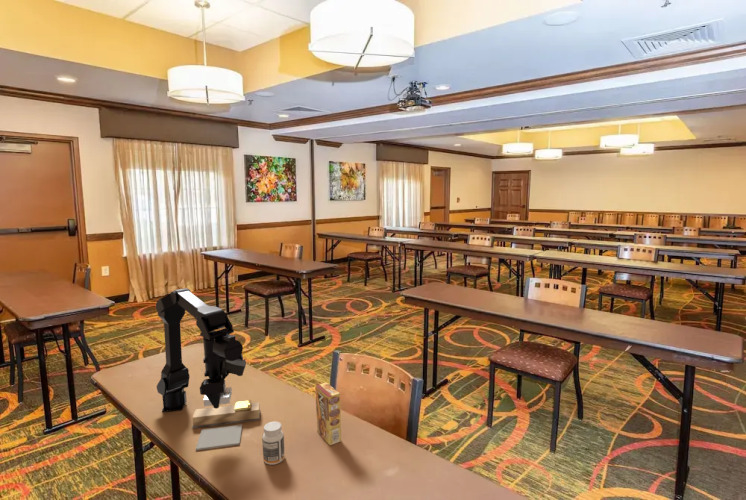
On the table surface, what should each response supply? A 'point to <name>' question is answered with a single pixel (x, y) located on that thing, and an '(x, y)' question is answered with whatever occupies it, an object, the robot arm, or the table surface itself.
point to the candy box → (328, 413)
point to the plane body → (225, 415)
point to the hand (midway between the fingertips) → (218, 402)
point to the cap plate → (221, 397)
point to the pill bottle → (273, 443)
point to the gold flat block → (243, 405)
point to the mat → (219, 437)
